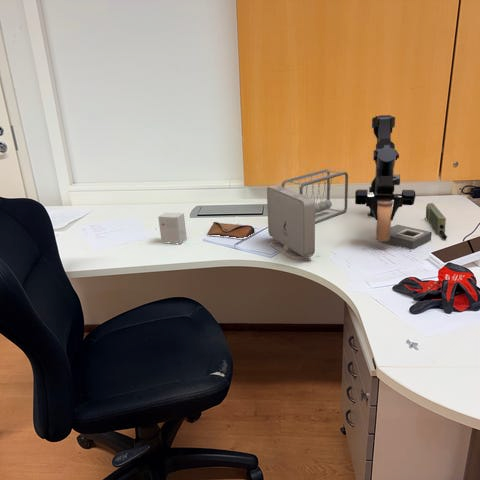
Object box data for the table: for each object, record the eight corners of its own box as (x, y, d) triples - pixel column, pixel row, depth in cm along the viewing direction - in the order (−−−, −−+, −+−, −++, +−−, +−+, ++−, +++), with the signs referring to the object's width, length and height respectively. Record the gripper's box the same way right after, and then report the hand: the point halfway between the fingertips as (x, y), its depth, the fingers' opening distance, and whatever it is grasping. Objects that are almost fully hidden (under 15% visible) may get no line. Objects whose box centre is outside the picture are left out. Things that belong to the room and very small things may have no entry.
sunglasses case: (203, 235, 170) (206, 219, 171) (211, 239, 177) (214, 223, 178) (246, 240, 163) (249, 222, 164) (253, 244, 169) (255, 227, 170)
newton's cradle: (301, 229, 172) (301, 184, 166) (281, 224, 179) (280, 180, 173) (347, 212, 190) (348, 170, 184) (327, 208, 198) (328, 168, 192)
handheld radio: (434, 219, 175) (450, 240, 152) (425, 219, 175) (440, 241, 152) (434, 202, 173) (451, 222, 150) (425, 203, 173) (441, 222, 150)
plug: (372, 238, 149) (374, 200, 144) (383, 235, 151) (385, 198, 146) (382, 242, 145) (384, 203, 140) (393, 239, 146) (396, 201, 142)
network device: (263, 240, 162) (260, 186, 155) (284, 236, 165) (283, 183, 158) (298, 264, 140) (297, 202, 133) (322, 258, 143) (322, 198, 136)
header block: (377, 240, 155) (378, 231, 154) (396, 232, 162) (397, 223, 161) (412, 249, 146) (413, 239, 145) (430, 240, 153) (431, 230, 152)
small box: (187, 239, 168) (184, 212, 164) (180, 244, 163) (177, 217, 159) (168, 238, 170) (165, 211, 167) (161, 243, 165) (157, 216, 162)
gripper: (356, 165, 146) (354, 207, 139) (417, 165, 141) (418, 208, 134) (356, 183, 155) (354, 223, 149) (412, 183, 151) (413, 225, 144)
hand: (384, 219), depth 144 cm, fingers closed on plug, 4 cm apart
